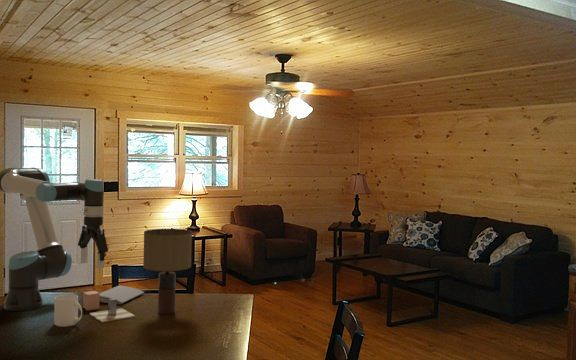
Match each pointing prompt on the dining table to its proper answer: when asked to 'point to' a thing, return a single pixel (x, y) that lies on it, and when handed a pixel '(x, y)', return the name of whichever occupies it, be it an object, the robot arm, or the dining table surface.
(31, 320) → the dining table surface
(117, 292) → the book
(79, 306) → the mug
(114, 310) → the post
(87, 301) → the pink rectangular block
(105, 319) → the board
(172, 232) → the lamp
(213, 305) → the dining table surface
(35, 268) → the robot arm
